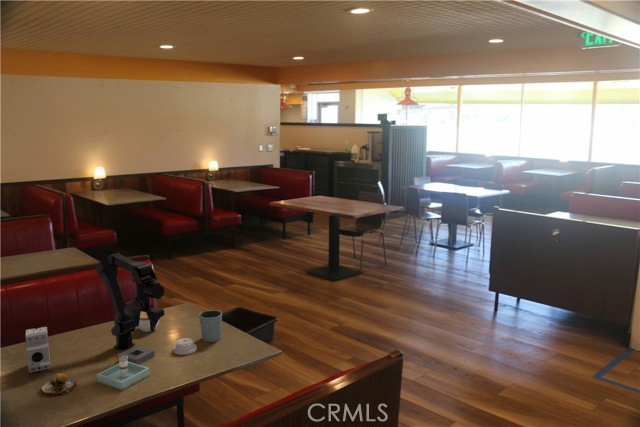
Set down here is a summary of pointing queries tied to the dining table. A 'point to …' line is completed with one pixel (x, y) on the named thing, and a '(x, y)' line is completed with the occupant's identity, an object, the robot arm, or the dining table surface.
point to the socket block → (138, 355)
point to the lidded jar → (145, 323)
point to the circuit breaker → (37, 349)
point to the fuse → (123, 366)
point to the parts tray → (113, 379)
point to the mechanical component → (185, 346)
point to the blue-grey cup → (211, 325)
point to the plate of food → (59, 385)
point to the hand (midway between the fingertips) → (144, 329)
